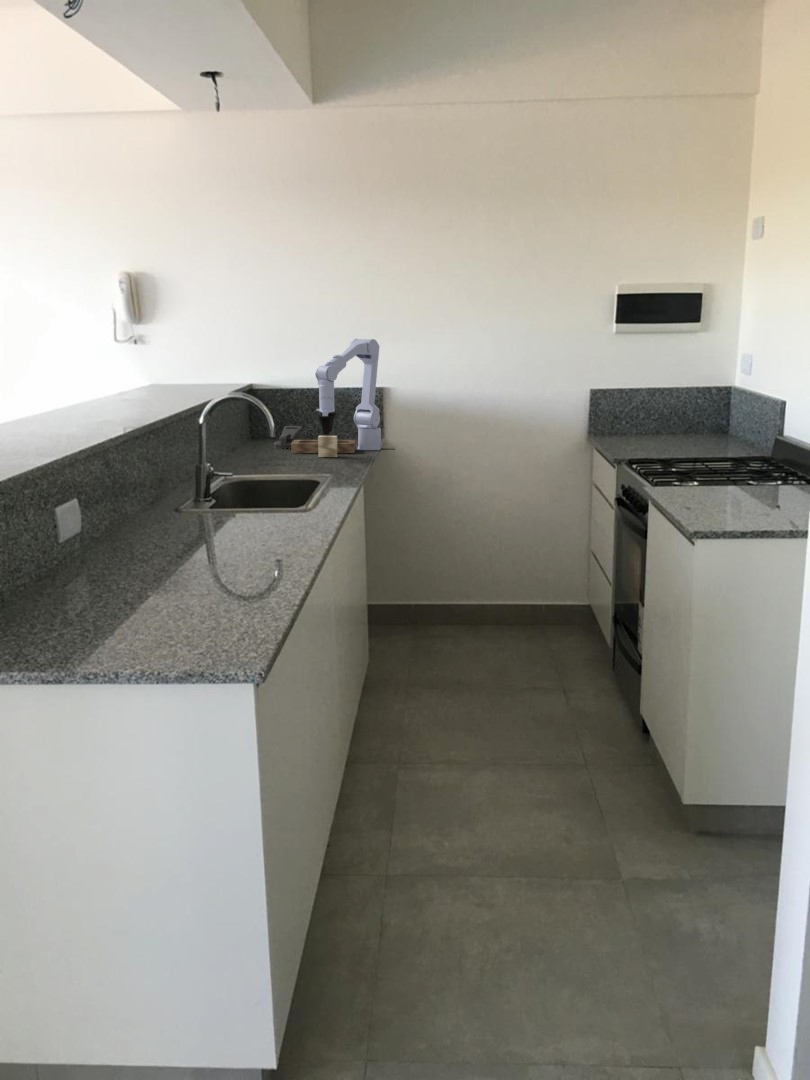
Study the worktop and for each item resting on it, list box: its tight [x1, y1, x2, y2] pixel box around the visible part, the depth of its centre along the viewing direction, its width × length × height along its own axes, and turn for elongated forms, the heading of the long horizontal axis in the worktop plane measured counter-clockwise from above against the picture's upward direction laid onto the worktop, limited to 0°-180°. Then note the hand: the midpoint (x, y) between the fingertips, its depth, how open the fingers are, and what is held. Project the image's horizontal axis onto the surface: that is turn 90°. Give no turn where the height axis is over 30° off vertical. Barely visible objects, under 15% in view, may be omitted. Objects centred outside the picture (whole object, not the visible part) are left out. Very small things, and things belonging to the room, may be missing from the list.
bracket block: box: [317, 435, 338, 458], centre depth 353 cm, size 7×4×8 cm, turn 89°
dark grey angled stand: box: [273, 425, 303, 449], centre depth 385 cm, size 9×7×25 cm
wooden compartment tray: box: [290, 439, 357, 454], centre depth 366 cm, size 25×10×4 cm, turn 89°
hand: (327, 433), depth 351 cm, fingers open, 7 cm apart
